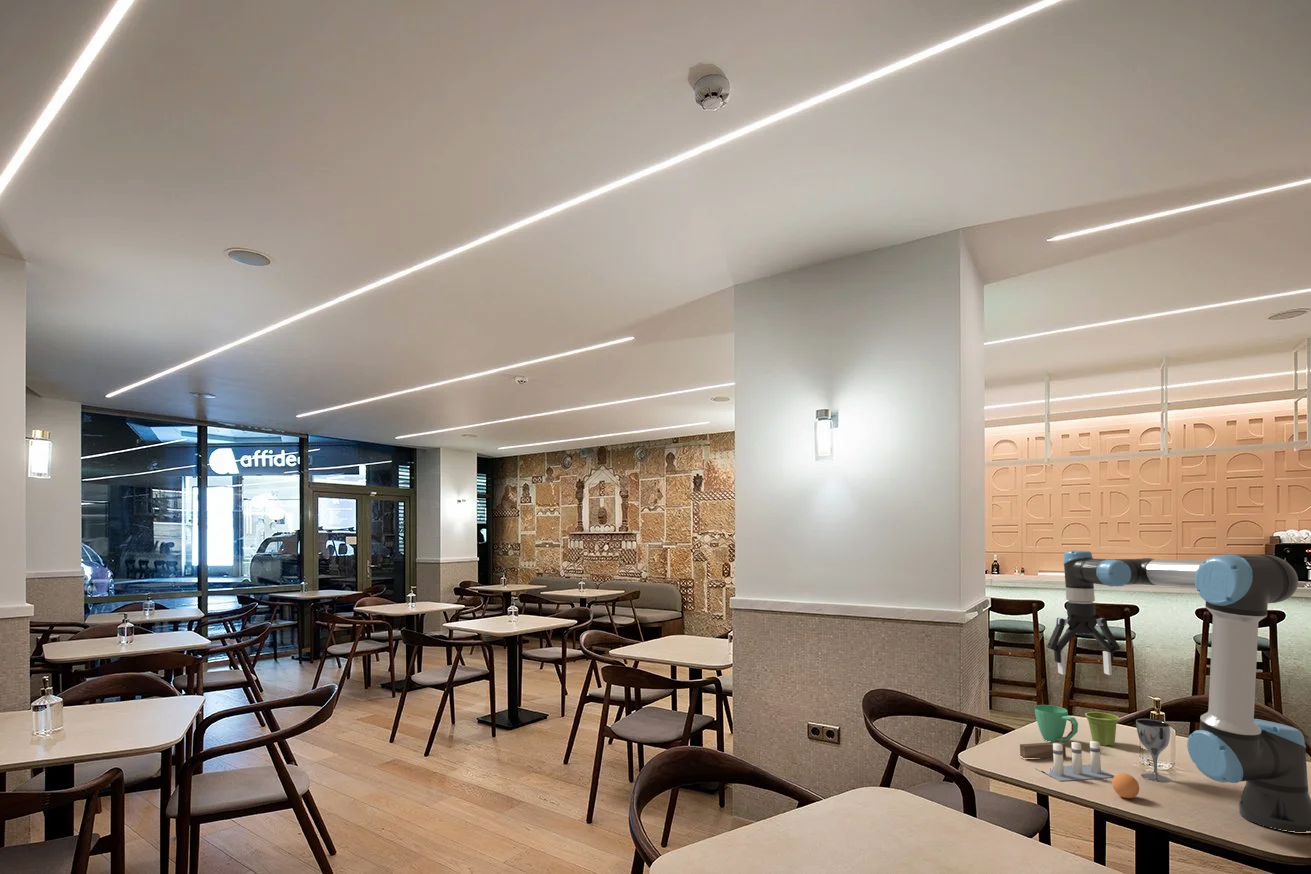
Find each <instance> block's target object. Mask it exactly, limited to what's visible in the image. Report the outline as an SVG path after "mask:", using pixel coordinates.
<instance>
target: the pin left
mask: <svg viewBox="0 0 1311 874" xmlns="http://www.w3.org/2000/svg"><path fill="white" fill-rule="evenodd" d="M1053 757H1054V758H1053V767H1054V774H1055V775H1056V776H1064V766H1065V765H1064V758H1063V745H1062V744H1059V743H1053Z"/></svg>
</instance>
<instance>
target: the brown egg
mask: <svg viewBox="0 0 1311 874" xmlns="http://www.w3.org/2000/svg"><path fill="white" fill-rule="evenodd" d="M1111 786H1112V788H1113V790H1114V792H1115V793H1116V794H1117V795H1118V796H1120V797H1121V798H1124V799H1133V798H1135V797H1137V796H1138V794H1139V792H1140V784H1139V782H1138V781H1137V779H1136V778H1135V777H1134V776H1132V774H1131V775H1130V774H1129V773H1125V772H1124V773H1123V772H1121V773H1117V774H1116V775H1114V778H1112V782H1111Z"/></svg>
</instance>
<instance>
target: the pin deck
mask: <svg viewBox="0 0 1311 874" xmlns="http://www.w3.org/2000/svg"><path fill="white" fill-rule="evenodd" d="M1063 766H1064V776H1056V775H1055V774H1054V771H1053V770H1054V766H1052V767H1053V769H1052V770H1051V768H1050V773H1049V774H1048V775H1049V776H1048V775H1047V776H1048V777H1050V776H1052V777H1053V779H1054V778H1055V780H1056V779H1057V781H1058V780H1059V781H1058V782H1071V781H1083V780H1084V781H1086V780H1096V779H1097V780H1099V779H1100V780H1101V779H1113V778H1114V776H1115V775H1114V774H1111V773H1109V772H1107V771H1105V770H1102V769H1101V774H1096V773H1092V772H1091V764H1082V773H1083V775H1076V774H1073V765H1063ZM1052 777H1051V778H1052Z"/></svg>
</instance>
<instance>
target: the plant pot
mask: <svg viewBox="0 0 1311 874" xmlns="http://www.w3.org/2000/svg"><path fill="white" fill-rule="evenodd" d="M1084 714H1085V715H1084V716H1085V717H1086V719H1087V721H1088V725H1089V730H1090V734H1091V735H1090V736H1091V741H1096V742H1099V744H1100V746H1111V747H1112V746H1115V743H1116V733H1117V724H1118V721H1119V720H1120V718H1119V716H1117V715H1115V714H1111V713H1107V712H1100V711H1099V712H1098V711H1090V712H1085V713H1084Z"/></svg>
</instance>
